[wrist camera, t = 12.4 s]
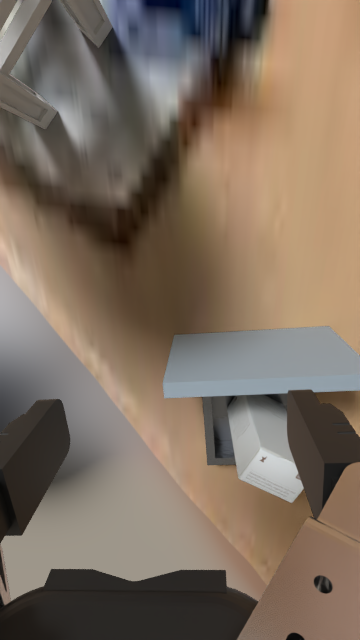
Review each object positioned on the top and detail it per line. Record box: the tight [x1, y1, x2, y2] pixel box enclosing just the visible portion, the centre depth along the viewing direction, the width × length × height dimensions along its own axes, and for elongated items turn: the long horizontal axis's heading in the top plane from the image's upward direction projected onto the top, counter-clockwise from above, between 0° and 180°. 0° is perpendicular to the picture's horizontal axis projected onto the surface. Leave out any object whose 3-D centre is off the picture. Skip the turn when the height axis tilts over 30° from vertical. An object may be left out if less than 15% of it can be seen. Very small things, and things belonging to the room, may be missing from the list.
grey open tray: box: [202, 393, 288, 465], centre depth 41 cm, size 12×14×4 cm
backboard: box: [163, 326, 360, 398], centre depth 35 cm, size 18×2×12 cm, turn 95°
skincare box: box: [227, 394, 304, 503], centre depth 37 cm, size 6×4×12 cm
